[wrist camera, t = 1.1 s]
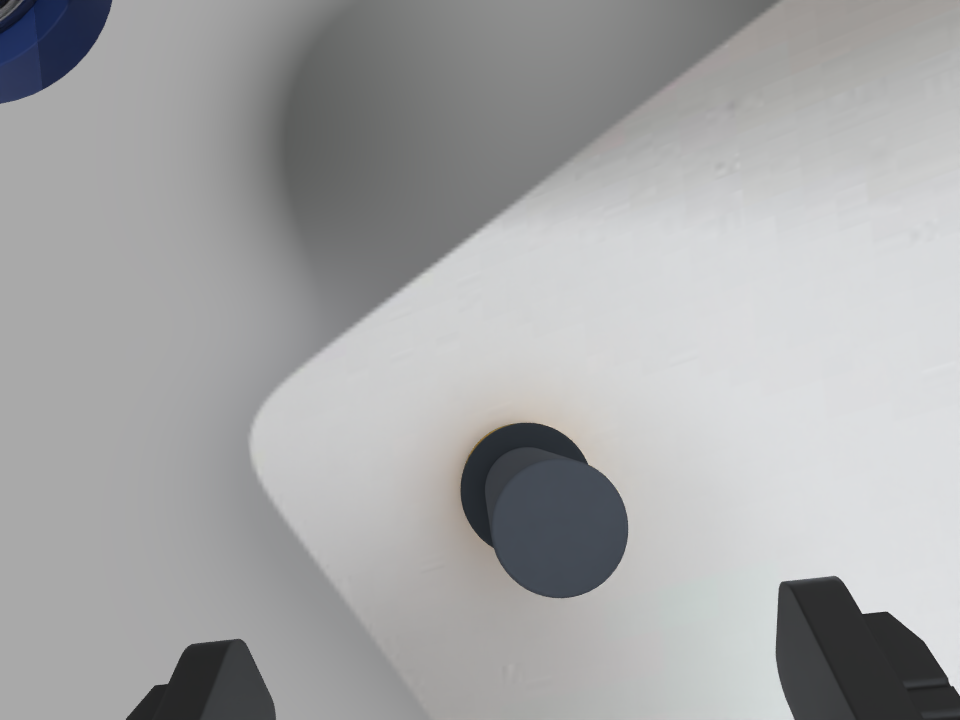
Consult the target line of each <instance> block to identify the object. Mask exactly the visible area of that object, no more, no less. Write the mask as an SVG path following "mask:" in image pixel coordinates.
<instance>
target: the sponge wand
mask: <svg viewBox="0 0 960 720" xmlns="http://www.w3.org/2000/svg"><path fill="white" fill-rule="evenodd" d="M461 501H462V505H463V509H464V512H465V515H466V518H467V519H468V521H469V523H470V525H471V527H472V528H473V529H474V531H475V532H476V533H477V535H478V536H479V537H480V538H481V539H482V540H483V541H485V542H486V543H487V544H488V545H490V546H491V547H493V548H494V550H495V553H496V555H497V558H498V559H499V561H500V563H501V565H502V566H503V568H504V569H505V571H506V572H507V573H508V574H509V575H510V576H511V578H512V579H513V580H515V581H516V582H517V583H518V584H519V585H521V586H522V587H524V588H526V589H527V590H529V591H531V592H533V593H536V594H539V595H542V596H546V597H552V598H569V597H574V596H579V595H582V594H584V593H587V592H589V591H591V590H593V589H595V588H596V587H598V586H599V585H601V584H602V583H603V582H604V581H606V580H607V579H608V578H609V577H610V576H611V574H612V573H613V572H614V570H615V569H616V568H617V566H618V564H619V563H620V561H621V559H622V556H623V554H624V552H625V548H626V544H627V538H628V519H627V514H626V510H625V506H624V504H623V501H622V498H621V497H620V495H619V493H618V491H617V490H616V488H615V487H614V485H613V484H612V483H611V482H610V481H609V480H608V479H607V478H606V476H604V475H603V474H602V473H601V472H599V471H598V470H596V469H595V468H593V467H592V466H590V465H588V463H587V461H586V459H585V457H584V455H583V454H582V452H581V451H580V449H579V448H578V447H577V446H576V445H575V444H574V443H573V441H572V440H570V439H569V438H568V437H567V436H565V435H564V434H562V433H561V432H559V431H557V430H555V429H553V428H551V427H548V426H545V425H541V424H535V423H517V424H510V425H506V426H503V427H500V428H497V429H495V430H493V431H492V432H490V433H488V434H487V435H486V436H484V437H483V438H482V439H481V440H480V441H479V442H478V443H477V444H476V445H475V447H474V448H473V449H472V451H471V453H470V454H469V456H468V458H467V461H466V463H465V467H464V470H463V474H462V479H461Z"/></svg>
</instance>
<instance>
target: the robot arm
mask: <svg viewBox="0 0 960 720" xmlns="http://www.w3.org/2000/svg"><path fill="white" fill-rule="evenodd" d="M35 2H36V0H0V33H2V32H3V31H5V30H6V29H8V28H9V27H11V26H12V25H13V24H15V23H16V22H17V21H18V20H19V19H20V18H22V17H23V16H24V15H25V14H26V13H27V11H28V10H29V9H30V8H31V7H32V6H33V4H34V3H35ZM776 662H777V668H778V673H779V678H780V682H781V685H782V689H783V692H784V695H785V697H786V700H787V702H788V705H789V707H790V710H791V712H792V714H793V717H794V719H795V720H960V696H959V694H958V693H957V691H956V690H955V688H954V687H953V686H950V684H949V681H948V678H947V676H946V674H945V673H944V671H943V670H942V668H941V667H940V665H939V664H938V662H937V661H936V659H935V658H934V656H933V655H932V653H931V652H930V650H929V649H928V647H927V646H926V644H925V643H924V641H923V640H921V639H920V638H919V637H918V636H916V635H915V634H914V633H913V632H912V631H910V630H909V629H908V628H907V627H906V626H904V625H903V624H902V623H901V622H899V621H898V620H897V619H896V618H895V617H893V616H892V615H891V614H890V613H888V612H878V613H869V614H862V613H861V611H860V609H859V608H858V606H857V604H856V602H855V601H854V599H853V597H852V596H851V594H850V592H849V591H848V589H847V587H846V586H845V584H844V583H843V582H842V580H841V579H839V578H838V577H836V576H831V577H821V578H812V579H803V580H794V581H785V582H781V584H780V586H779V594H778V614H777V634H776ZM126 720H276V714H275V708H274V703H273V700H272V698H271V695H270V693H269V691H268V689H267V687H266V685H265V683H264V681H263V679H262V676H261V674H260V672H259V670H258V668H257V666H256V664H255V662H254V659H253V657H252V655H251V653H250V651H249V649H248V647H247V645H246V643H245V642H244V641H242V640H241V639H234V640H224V641H216V642H206V643H197V644H191V645H190V646H188V647H187V648H186V649H185V650H184V652H183V653H182V655H181V657H180V659H179V661H178V664H177V666H176V668H175V670H174V672H173V675H172V677H171V679H170V681H169V683H168V684H165V685H156V686H154V687H153V688H152V689H151V691H150V692H149V693H148V694H147V695H146V696H145V698H144V699H143V700H142V701H141V702H140V703H139V704H138V706H137V707H136V708H135V709H134V710H133V712H132V713H131V714H130V715H129V716H128V717H127V718H126Z"/></svg>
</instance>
